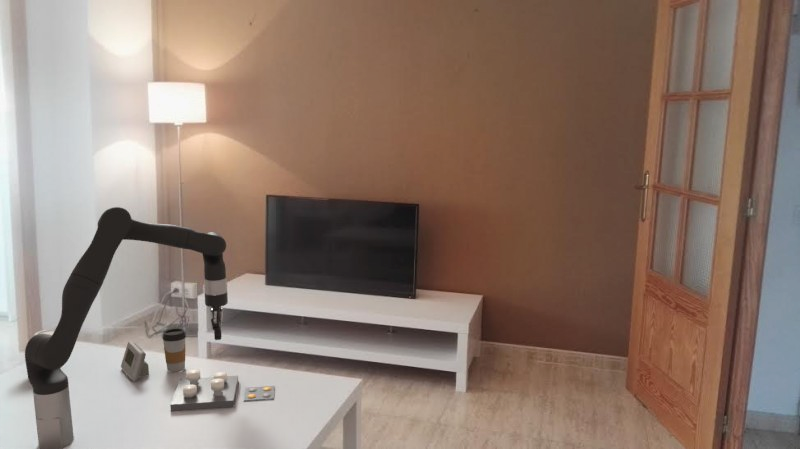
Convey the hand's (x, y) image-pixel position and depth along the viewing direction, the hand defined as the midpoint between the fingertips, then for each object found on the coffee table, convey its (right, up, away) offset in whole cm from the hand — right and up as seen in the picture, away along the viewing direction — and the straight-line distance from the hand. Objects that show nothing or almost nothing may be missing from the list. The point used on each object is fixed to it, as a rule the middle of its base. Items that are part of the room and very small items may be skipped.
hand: (218, 339), depth 226 cm
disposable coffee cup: (-68, -15, +20) cm, 73 cm away
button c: (-9, -17, +2) cm, 19 cm away
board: (-4, -19, -1) cm, 20 cm away
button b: (+1, -18, -5) cm, 19 cm away
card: (+14, -19, +1) cm, 24 cm away
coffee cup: (-22, -15, +21) cm, 34 cm away
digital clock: (-36, -16, +17) cm, 43 cm away
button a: (-7, -20, -7) cm, 22 cm away
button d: (0, -18, +4) cm, 19 cm away
